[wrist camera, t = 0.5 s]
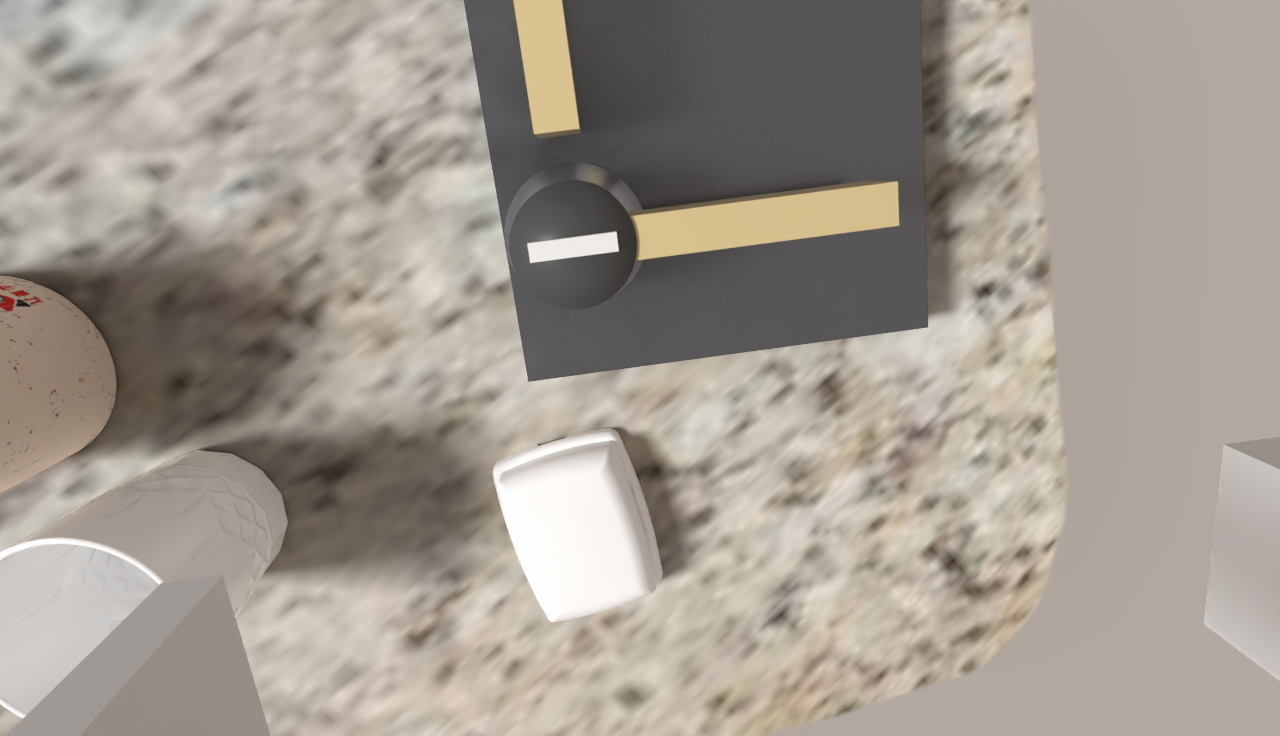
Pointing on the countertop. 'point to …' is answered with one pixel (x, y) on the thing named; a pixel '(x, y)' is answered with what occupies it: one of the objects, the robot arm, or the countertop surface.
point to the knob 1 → (547, 67)
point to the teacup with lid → (48, 380)
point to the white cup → (129, 562)
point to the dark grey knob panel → (719, 167)
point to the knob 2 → (669, 231)
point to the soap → (579, 523)
